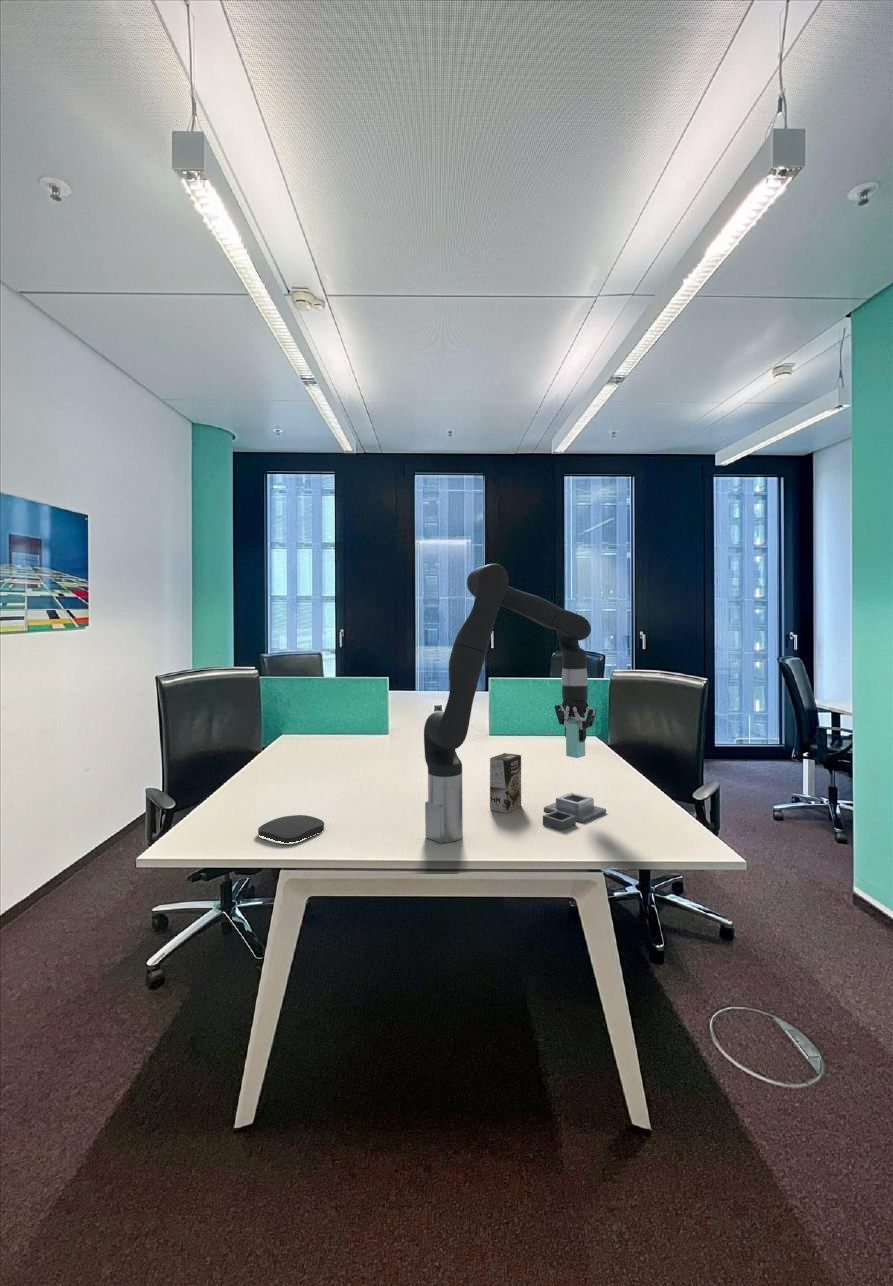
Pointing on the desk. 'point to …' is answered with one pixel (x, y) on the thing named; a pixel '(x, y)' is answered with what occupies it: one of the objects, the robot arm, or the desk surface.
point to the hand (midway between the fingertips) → (575, 740)
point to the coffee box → (505, 782)
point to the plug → (574, 740)
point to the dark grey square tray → (559, 820)
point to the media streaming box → (291, 828)
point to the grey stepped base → (576, 807)
